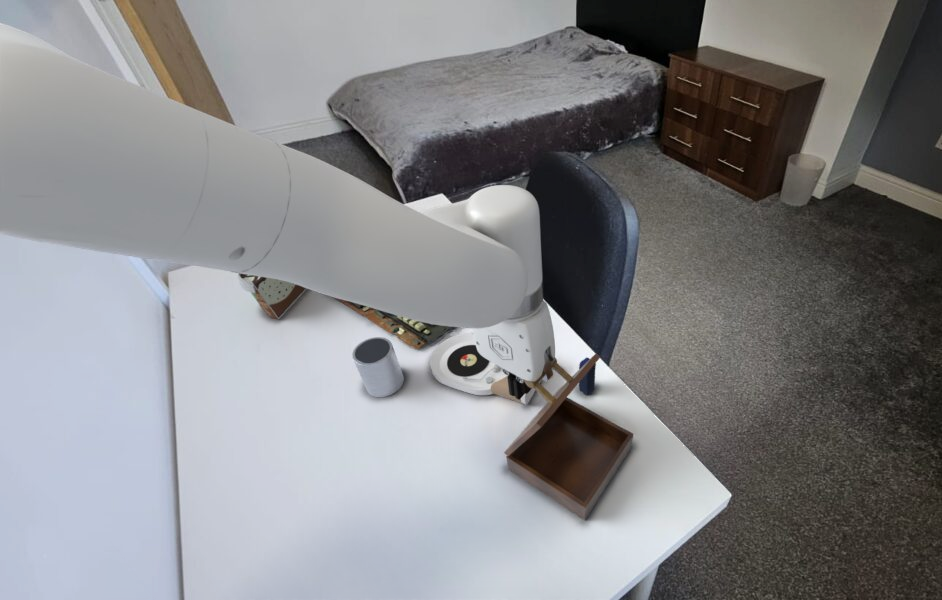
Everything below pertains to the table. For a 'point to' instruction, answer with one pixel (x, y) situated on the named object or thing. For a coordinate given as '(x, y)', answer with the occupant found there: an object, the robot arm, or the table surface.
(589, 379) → the eraser
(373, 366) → the steel cup
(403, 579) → the table surface
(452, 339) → the record player
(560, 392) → the lid
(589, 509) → the storage box
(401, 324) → the keyboard
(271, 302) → the food container
